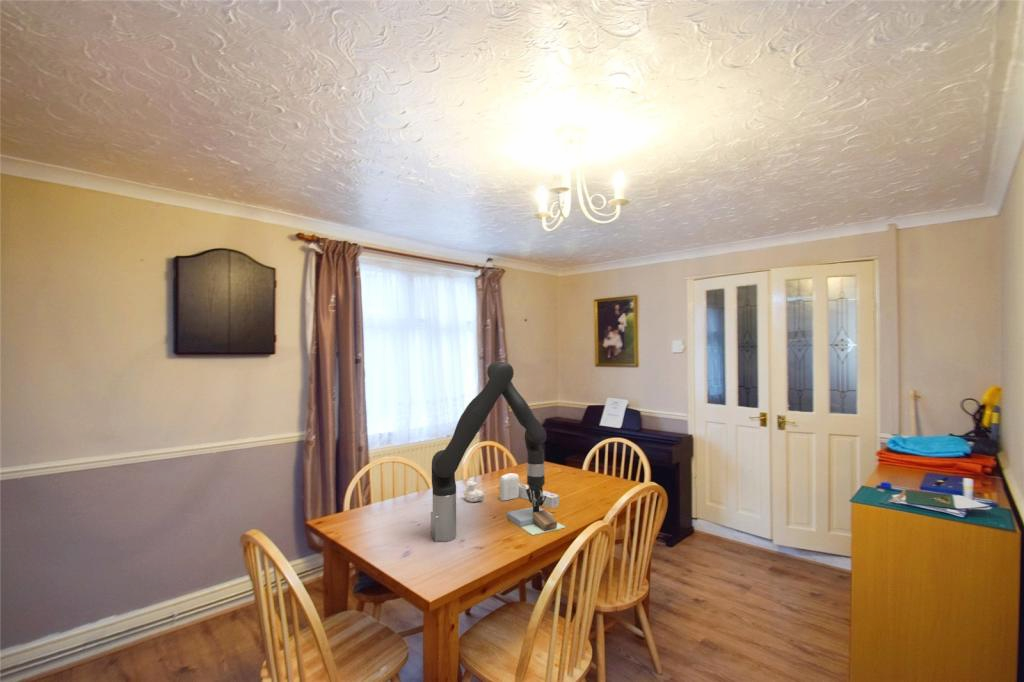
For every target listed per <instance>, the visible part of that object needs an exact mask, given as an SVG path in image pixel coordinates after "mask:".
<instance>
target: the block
mask: <svg viewBox="0 0 1024 682" xmlns="http://www.w3.org/2000/svg"><path fill="white" fill-rule="evenodd" d="M548 512H549V511H548ZM548 512H547V510H546V509H544V510H542V511H538V512H533V520H534V521H535V522H536V523H537V524H538V525H539V526H540V527H541V528H542V530H543V531H548V530H552V529H556V528H557V522H558V521H557V520H556V519H555V518H554V516H553V517H552V516H551V515H550V514H549V513H550V512H549V513H548Z"/></svg>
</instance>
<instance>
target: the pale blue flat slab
mask: <svg viewBox="0 0 1024 682" xmlns="http://www.w3.org/2000/svg"><path fill="white" fill-rule="evenodd" d="M542 510H545V509H544V508H542V507H541V506H539V511H542ZM546 511H547V510H546ZM547 512H548V513H549V514H550V515H551V516H552V517H553V518H554V514H553V513H551V512H549V511H547ZM506 518H507V519H508V520H510V521H511V522H512V523H514V524H515V525H516V526H518V527H519V528H521V527H523V526H528V525H532V524H537V523H536V522H535V521H534V520H533V506H531V507H527V508H521V509H517V510H511V511H507V512H506Z"/></svg>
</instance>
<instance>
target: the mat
mask: <svg viewBox="0 0 1024 682" xmlns="http://www.w3.org/2000/svg"><path fill="white" fill-rule="evenodd" d="M520 528H521V529H523V531H525V532H527V533H528V534H529V535H531V536H536V535H541V534H544V533H549V532H553V531H558V530H563V529H566V526H565V525H563V524H562V523H560V522H558V521H557V528H556V529H552V530H548V531H543V530H542V528H541V527H540V526H539V525H538V524H532V525H528V526H523V527H520ZM562 528H563V529H562Z"/></svg>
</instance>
